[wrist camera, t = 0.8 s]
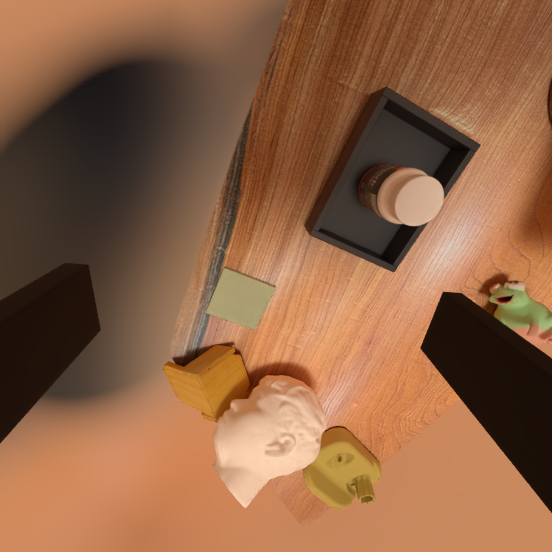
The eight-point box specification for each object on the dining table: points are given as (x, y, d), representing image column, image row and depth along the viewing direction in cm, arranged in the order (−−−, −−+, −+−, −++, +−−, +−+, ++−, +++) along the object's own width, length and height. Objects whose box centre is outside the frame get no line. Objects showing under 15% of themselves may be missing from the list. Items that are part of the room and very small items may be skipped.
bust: (238, 500, 44) (190, 422, 45) (318, 421, 52) (276, 356, 52) (258, 546, 33) (195, 443, 34) (355, 438, 41) (302, 355, 42)
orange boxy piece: (237, 344, 43) (206, 326, 50) (183, 385, 38) (156, 359, 44) (253, 392, 48) (223, 369, 54) (207, 434, 42) (180, 404, 49)
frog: (463, 346, 41) (452, 288, 44) (490, 350, 47) (479, 297, 49) (577, 342, 32) (554, 268, 35) (595, 347, 37) (574, 282, 40)
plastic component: (341, 424, 53) (299, 444, 56) (351, 464, 47) (302, 485, 49) (388, 471, 60) (349, 487, 63) (403, 511, 54) (358, 527, 56)
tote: (371, 93, 31) (386, 86, 27) (456, 145, 34) (481, 144, 30) (304, 226, 37) (309, 234, 33) (381, 261, 40) (394, 272, 36)
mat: (224, 266, 39) (224, 267, 38) (276, 286, 41) (276, 288, 40) (205, 311, 42) (205, 313, 41) (255, 328, 43) (254, 330, 43)
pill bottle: (392, 154, 33) (442, 156, 24) (407, 196, 36) (457, 212, 27) (349, 179, 34) (381, 190, 25) (366, 219, 36) (401, 241, 27)
